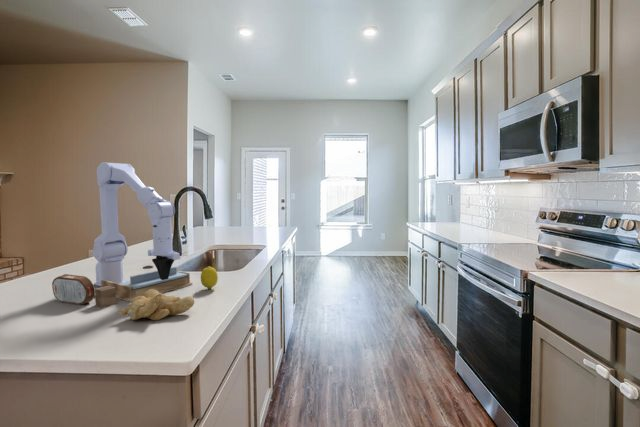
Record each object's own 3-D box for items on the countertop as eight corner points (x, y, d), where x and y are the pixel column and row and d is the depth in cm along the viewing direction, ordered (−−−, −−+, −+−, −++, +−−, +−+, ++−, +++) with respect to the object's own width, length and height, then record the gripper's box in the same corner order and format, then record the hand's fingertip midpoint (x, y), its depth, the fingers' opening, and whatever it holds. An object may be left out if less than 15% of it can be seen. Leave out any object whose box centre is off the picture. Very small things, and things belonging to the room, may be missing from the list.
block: (95, 305, 107) (94, 288, 107) (109, 301, 111) (108, 285, 110) (102, 307, 105) (101, 290, 105) (116, 303, 108) (115, 287, 108)
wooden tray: (99, 292, 120) (99, 280, 120) (161, 278, 139) (161, 267, 139) (130, 301, 110) (129, 288, 110) (192, 284, 129) (191, 273, 129)
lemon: (213, 291, 119) (212, 268, 119) (197, 291, 121) (197, 267, 120) (220, 287, 125) (220, 264, 124) (206, 286, 126) (205, 264, 125)
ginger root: (109, 313, 96) (116, 283, 97) (166, 311, 108) (171, 285, 109) (134, 329, 86) (141, 296, 87) (193, 326, 98) (199, 296, 99)
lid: (119, 285, 116) (118, 276, 116) (172, 273, 132) (172, 264, 132) (133, 289, 111) (132, 279, 111) (187, 276, 128) (187, 267, 128)
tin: (96, 303, 109) (94, 276, 108) (86, 306, 106) (85, 278, 105) (61, 299, 114) (59, 272, 113) (50, 302, 111) (49, 275, 110)
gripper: (138, 238, 118) (140, 278, 119) (164, 241, 111) (166, 284, 111) (158, 235, 124) (159, 274, 125) (184, 238, 116) (186, 279, 117)
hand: (164, 279), depth 119 cm, fingers closed
